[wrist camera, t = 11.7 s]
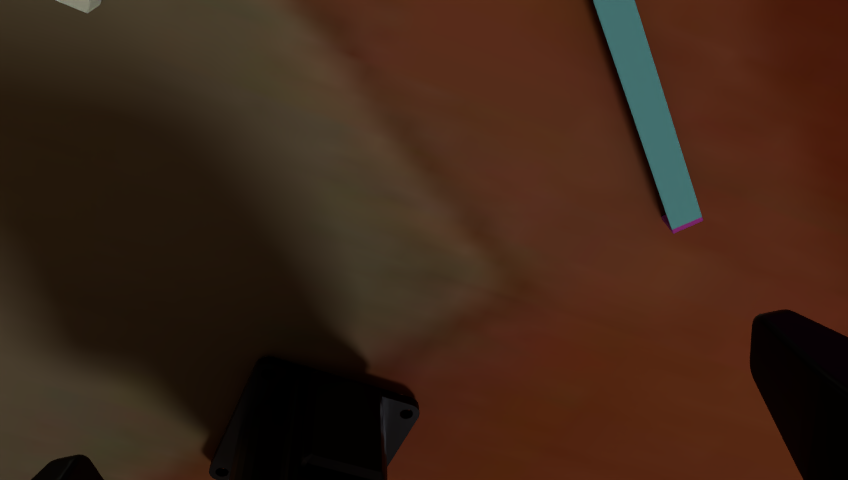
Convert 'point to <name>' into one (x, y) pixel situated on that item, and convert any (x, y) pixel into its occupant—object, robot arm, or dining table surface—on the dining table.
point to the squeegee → (649, 110)
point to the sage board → (82, 4)
